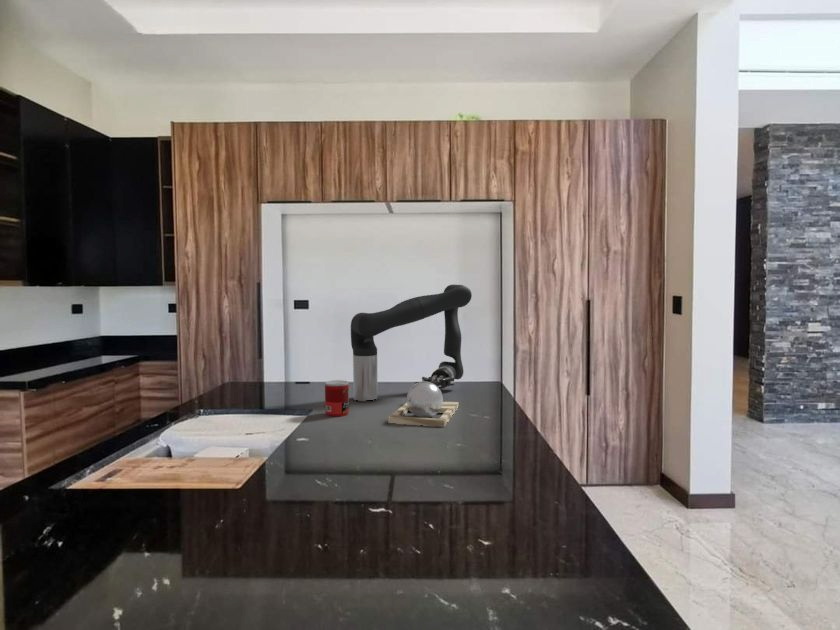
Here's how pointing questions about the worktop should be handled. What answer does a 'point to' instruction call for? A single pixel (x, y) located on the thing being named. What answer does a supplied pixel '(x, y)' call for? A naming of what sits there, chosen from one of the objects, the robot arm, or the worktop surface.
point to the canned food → (336, 398)
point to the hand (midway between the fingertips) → (432, 385)
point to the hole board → (446, 409)
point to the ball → (424, 399)
